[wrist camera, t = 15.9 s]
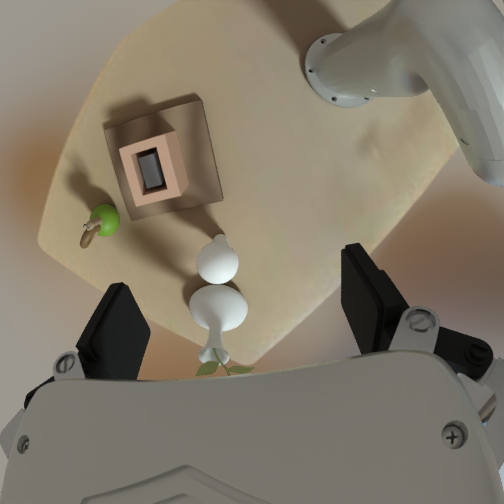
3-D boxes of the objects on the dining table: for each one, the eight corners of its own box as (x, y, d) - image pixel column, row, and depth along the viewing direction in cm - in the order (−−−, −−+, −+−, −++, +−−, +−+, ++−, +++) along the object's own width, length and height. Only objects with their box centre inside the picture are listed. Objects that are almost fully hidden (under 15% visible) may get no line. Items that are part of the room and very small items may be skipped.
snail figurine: (131, 206, 44) (101, 237, 33) (117, 233, 46) (88, 269, 35) (107, 189, 42) (71, 216, 31) (94, 217, 44) (60, 249, 34)
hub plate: (202, 100, 36) (194, 98, 30) (223, 197, 44) (220, 213, 38) (108, 129, 37) (87, 134, 31) (134, 217, 45) (119, 235, 39)
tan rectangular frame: (175, 130, 37) (164, 134, 31) (188, 184, 41) (180, 195, 36) (134, 142, 37) (118, 148, 32) (148, 193, 41) (136, 206, 36)
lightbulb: (196, 231, 46) (184, 266, 37) (227, 215, 45) (223, 247, 36) (214, 259, 49) (208, 298, 40) (245, 245, 48) (245, 282, 38)
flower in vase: (186, 317, 56) (165, 424, 34) (194, 273, 50) (168, 389, 29) (247, 329, 58) (250, 436, 36) (262, 288, 52) (274, 404, 31)
